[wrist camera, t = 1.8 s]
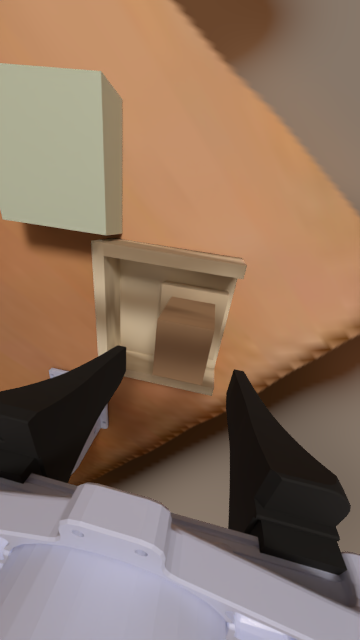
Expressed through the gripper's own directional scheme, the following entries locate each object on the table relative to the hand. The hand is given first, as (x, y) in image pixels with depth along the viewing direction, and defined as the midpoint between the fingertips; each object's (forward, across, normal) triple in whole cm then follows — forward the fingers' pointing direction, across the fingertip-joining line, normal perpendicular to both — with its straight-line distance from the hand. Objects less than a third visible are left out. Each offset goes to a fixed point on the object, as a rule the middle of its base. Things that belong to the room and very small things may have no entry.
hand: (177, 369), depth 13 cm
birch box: (+8, +3, 0) cm, 9 cm away
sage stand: (+8, +12, -11) cm, 19 cm away
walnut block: (+7, 0, 0) cm, 7 cm away
